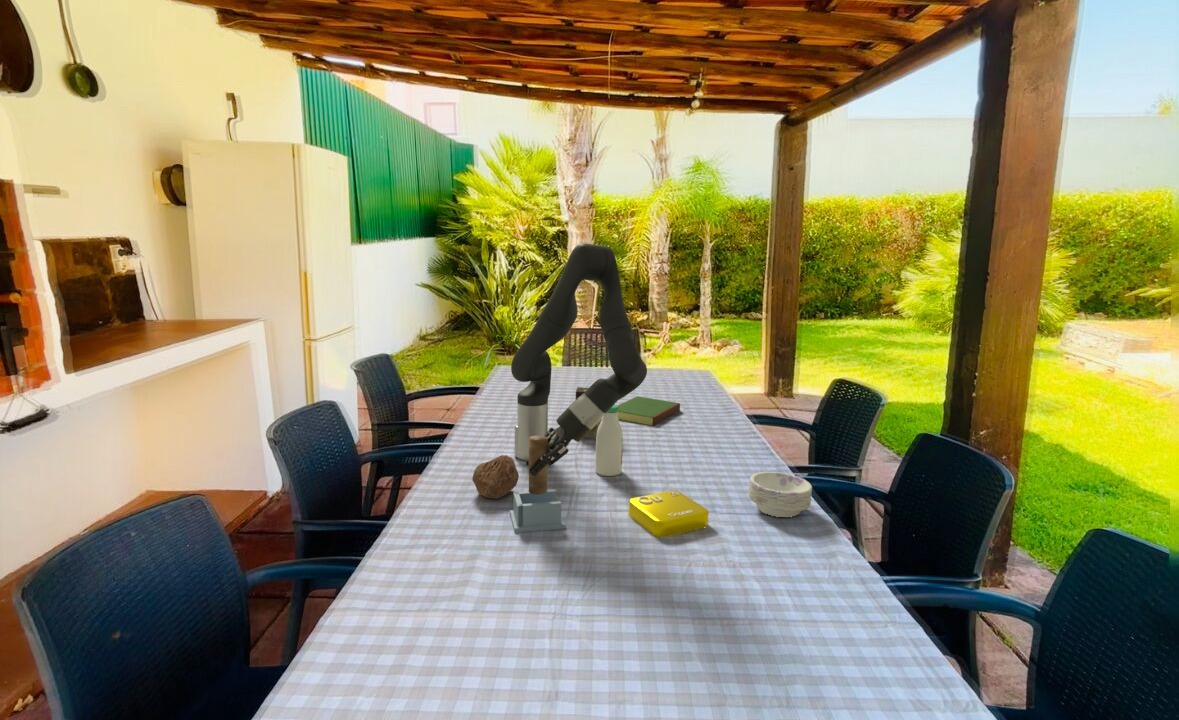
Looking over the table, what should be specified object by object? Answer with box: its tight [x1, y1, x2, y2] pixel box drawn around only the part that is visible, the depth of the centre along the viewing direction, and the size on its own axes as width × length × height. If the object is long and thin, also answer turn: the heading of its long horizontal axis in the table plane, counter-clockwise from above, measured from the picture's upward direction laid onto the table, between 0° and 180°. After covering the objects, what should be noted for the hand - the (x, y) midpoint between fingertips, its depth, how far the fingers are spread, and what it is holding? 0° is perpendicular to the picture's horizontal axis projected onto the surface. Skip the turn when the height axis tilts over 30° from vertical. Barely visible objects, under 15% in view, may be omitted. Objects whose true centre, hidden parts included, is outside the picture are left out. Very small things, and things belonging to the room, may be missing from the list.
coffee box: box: [575, 386, 603, 439], centre depth 219 cm, size 9×6×16 cm
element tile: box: [628, 489, 710, 538], centre depth 156 cm, size 15×15×5 cm
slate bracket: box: [509, 489, 567, 533], centre depth 154 cm, size 12×10×6 cm
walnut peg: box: [528, 436, 548, 495], centre depth 151 cm, size 4×4×13 cm
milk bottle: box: [595, 403, 624, 477], centre depth 185 cm, size 8×8×20 cm
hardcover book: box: [617, 395, 681, 427], centre depth 248 cm, size 25×19×4 cm
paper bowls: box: [748, 471, 813, 518], centre depth 163 cm, size 15×15×8 cm
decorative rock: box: [471, 454, 520, 499], centre depth 169 cm, size 13×11×10 cm
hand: (529, 469), depth 151 cm, fingers closed on walnut peg, 4 cm apart
